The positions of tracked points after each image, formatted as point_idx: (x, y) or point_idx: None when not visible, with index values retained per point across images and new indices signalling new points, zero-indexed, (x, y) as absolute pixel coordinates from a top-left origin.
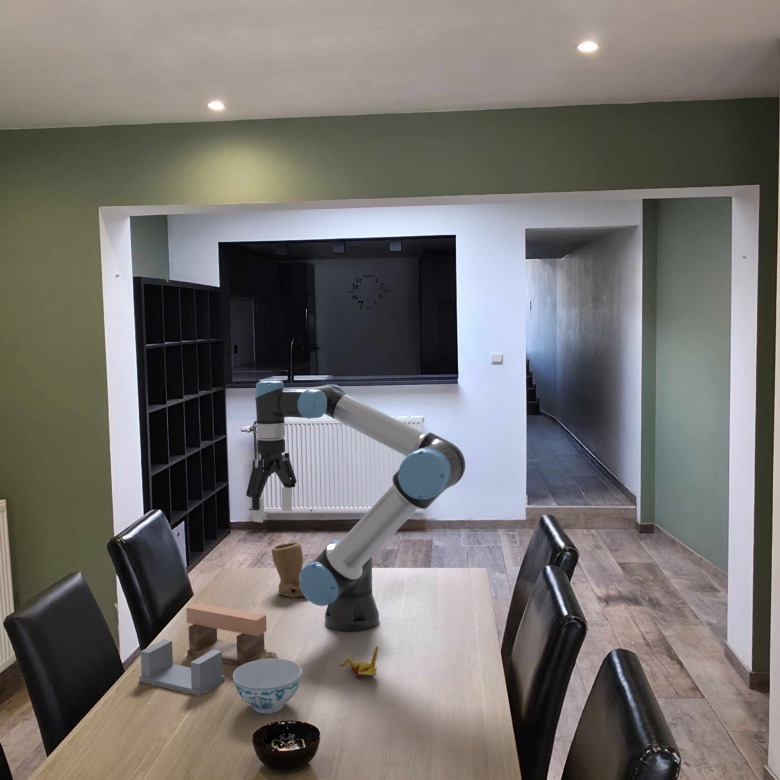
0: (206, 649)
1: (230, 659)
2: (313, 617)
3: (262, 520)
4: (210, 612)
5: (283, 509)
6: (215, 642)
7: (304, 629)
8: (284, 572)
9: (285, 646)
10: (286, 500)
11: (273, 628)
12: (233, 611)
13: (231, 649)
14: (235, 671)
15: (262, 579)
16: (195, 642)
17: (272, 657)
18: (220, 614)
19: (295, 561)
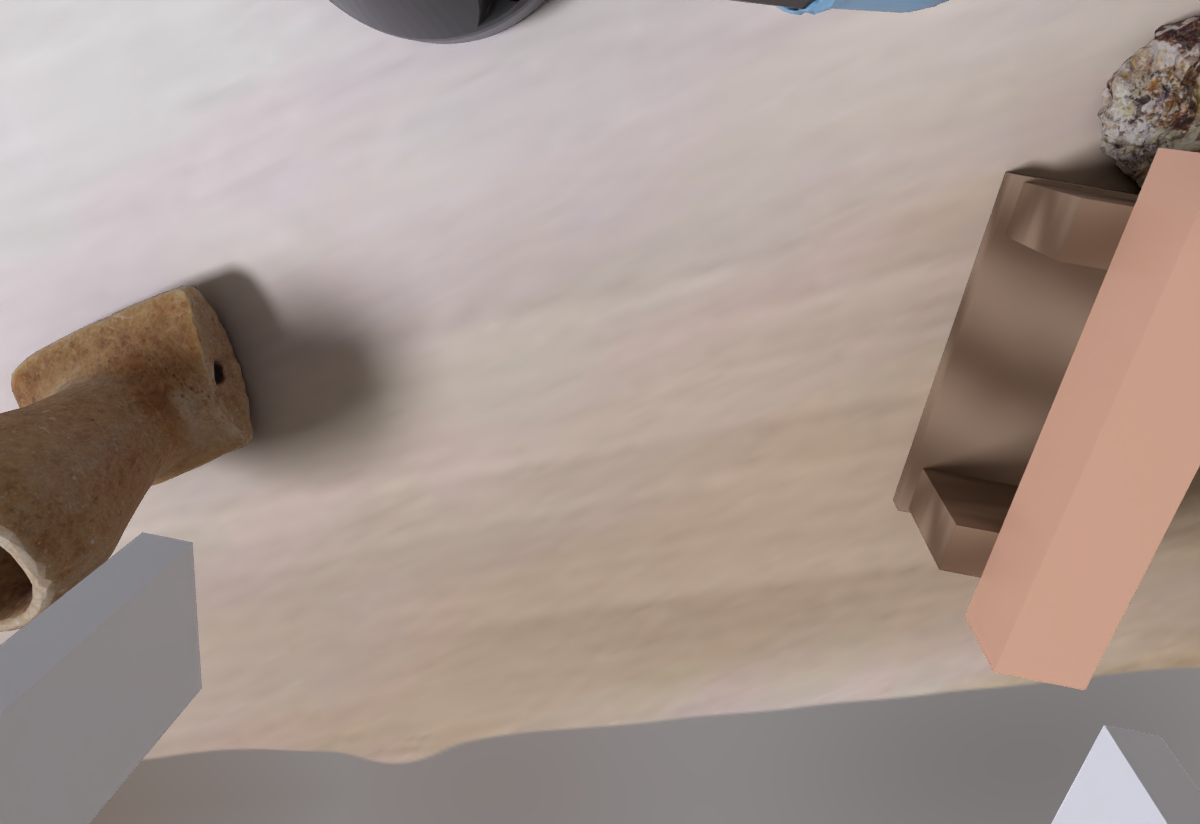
0: None
1: None
2: (449, 137)
3: (1145, 756)
4: (1158, 539)
5: (186, 682)
6: (953, 463)
7: (629, 111)
8: (139, 471)
9: (889, 112)
10: (41, 769)
11: (658, 286)
12: (1143, 412)
13: (1036, 352)
14: None
15: None
16: None
17: (1198, 61)
18: (1193, 469)
19: (52, 440)
